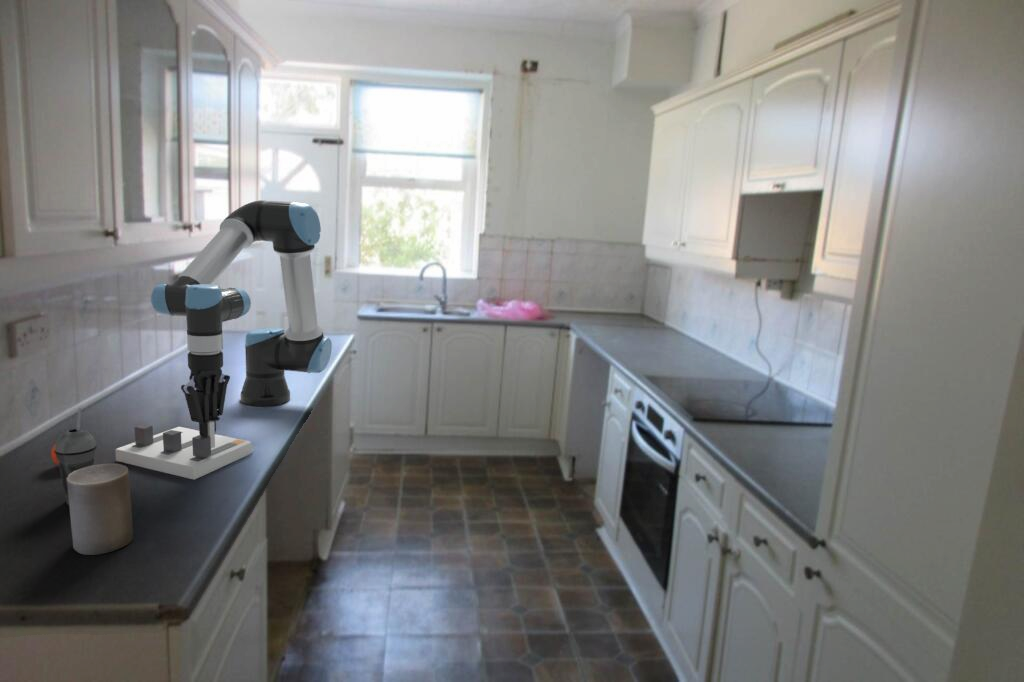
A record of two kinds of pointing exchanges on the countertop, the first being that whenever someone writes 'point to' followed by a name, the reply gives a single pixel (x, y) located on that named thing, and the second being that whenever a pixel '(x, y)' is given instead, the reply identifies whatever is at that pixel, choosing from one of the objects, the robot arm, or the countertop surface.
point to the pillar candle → (100, 508)
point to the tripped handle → (201, 446)
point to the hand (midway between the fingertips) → (208, 446)
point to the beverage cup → (74, 452)
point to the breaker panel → (179, 452)
